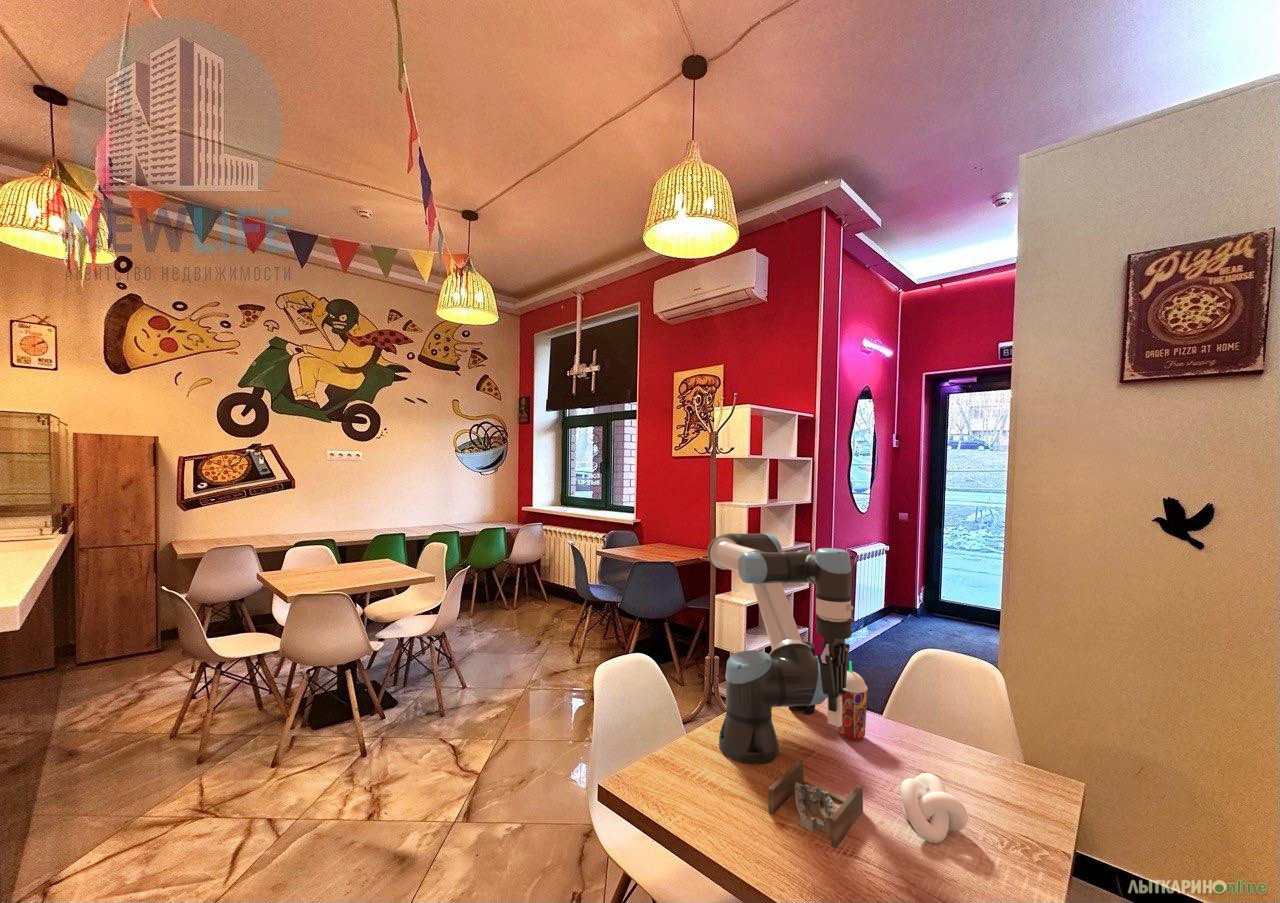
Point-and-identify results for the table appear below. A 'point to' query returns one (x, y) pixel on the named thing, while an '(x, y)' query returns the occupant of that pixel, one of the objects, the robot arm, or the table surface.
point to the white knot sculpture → (931, 807)
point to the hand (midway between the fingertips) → (835, 723)
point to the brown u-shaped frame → (850, 805)
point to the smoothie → (853, 707)
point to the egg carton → (814, 807)
